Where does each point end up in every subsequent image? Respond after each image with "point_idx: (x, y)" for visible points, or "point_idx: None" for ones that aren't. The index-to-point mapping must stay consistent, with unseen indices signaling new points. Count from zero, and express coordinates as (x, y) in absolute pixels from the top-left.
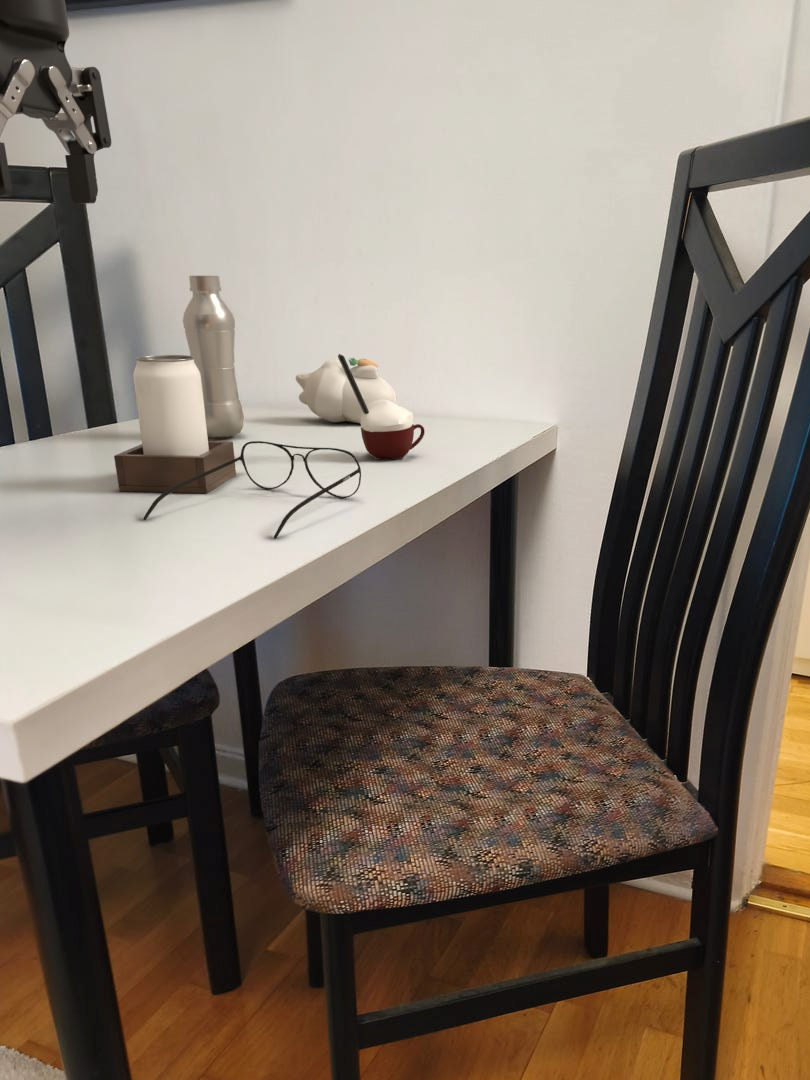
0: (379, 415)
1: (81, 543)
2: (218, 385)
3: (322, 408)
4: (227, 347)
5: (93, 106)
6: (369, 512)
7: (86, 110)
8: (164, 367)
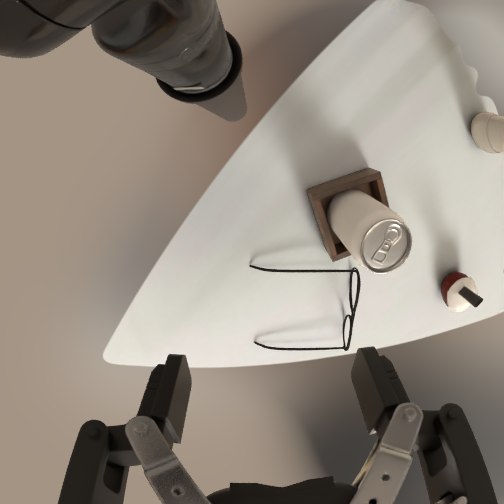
0: (455, 300)
1: (195, 270)
2: (501, 146)
3: None
4: None
5: (429, 491)
6: None
7: (437, 479)
8: (362, 262)
